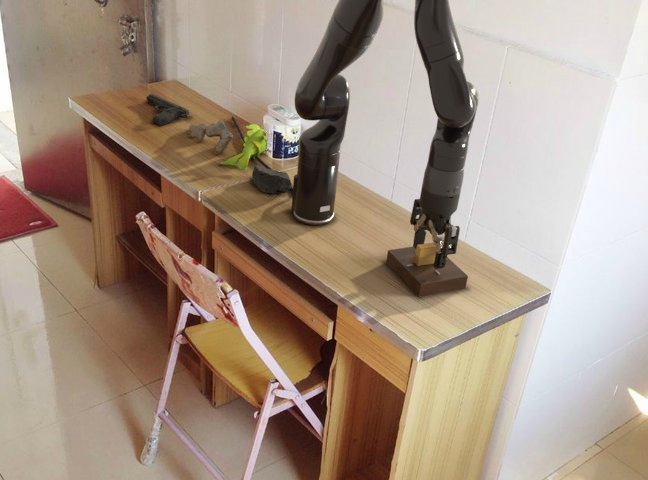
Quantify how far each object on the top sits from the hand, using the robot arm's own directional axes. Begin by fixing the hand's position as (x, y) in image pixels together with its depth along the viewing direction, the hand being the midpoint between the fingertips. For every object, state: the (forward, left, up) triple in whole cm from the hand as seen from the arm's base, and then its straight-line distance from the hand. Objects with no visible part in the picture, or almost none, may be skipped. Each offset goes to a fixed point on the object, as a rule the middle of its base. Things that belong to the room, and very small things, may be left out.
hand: (428, 257), depth 160 cm
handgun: (-110, +7, -4) cm, 110 cm away
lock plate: (0, 0, -4) cm, 4 cm away
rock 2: (-51, +1, -4) cm, 51 cm away
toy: (-67, +9, -4) cm, 68 cm away
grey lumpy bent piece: (-83, +5, -4) cm, 83 cm away
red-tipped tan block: (0, 0, -1) cm, 1 cm away
